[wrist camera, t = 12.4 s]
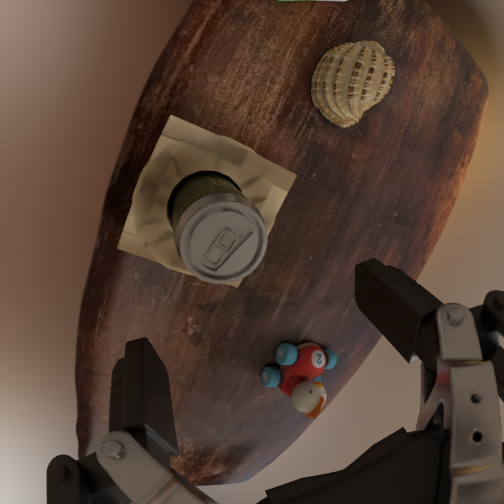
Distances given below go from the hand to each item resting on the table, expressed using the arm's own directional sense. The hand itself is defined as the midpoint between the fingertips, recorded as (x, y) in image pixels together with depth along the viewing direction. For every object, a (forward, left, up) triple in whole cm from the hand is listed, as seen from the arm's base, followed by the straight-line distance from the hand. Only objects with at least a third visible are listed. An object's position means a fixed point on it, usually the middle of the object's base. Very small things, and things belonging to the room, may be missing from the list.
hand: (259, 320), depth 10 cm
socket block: (0, 0, -19) cm, 19 cm away
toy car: (+27, +6, -19) cm, 33 cm away
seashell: (-8, +17, -19) cm, 27 cm away
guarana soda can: (0, 0, -19) cm, 19 cm away
